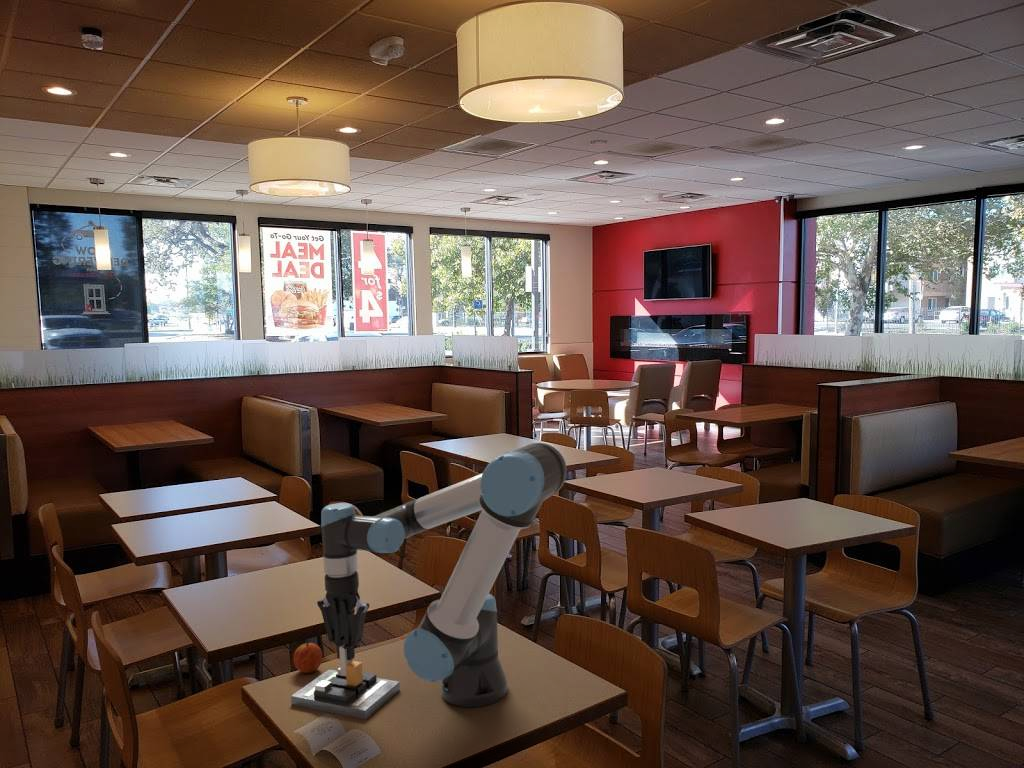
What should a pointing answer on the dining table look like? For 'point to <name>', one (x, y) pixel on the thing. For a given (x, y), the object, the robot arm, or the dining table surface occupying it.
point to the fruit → (307, 657)
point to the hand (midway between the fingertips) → (346, 672)
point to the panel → (346, 707)
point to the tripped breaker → (354, 673)
